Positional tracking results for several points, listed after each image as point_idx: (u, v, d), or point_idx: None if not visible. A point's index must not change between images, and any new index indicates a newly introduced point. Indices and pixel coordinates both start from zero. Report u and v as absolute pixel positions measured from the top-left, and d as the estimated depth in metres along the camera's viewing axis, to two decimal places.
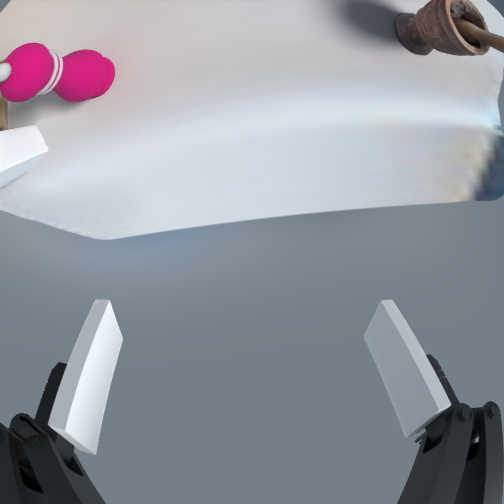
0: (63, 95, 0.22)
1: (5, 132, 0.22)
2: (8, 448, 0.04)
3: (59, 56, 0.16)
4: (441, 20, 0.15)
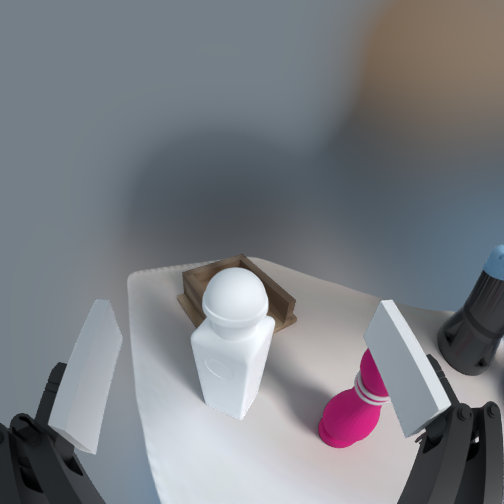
0: (341, 415, 0.26)
1: None
2: (8, 448, 0.04)
3: None
4: None
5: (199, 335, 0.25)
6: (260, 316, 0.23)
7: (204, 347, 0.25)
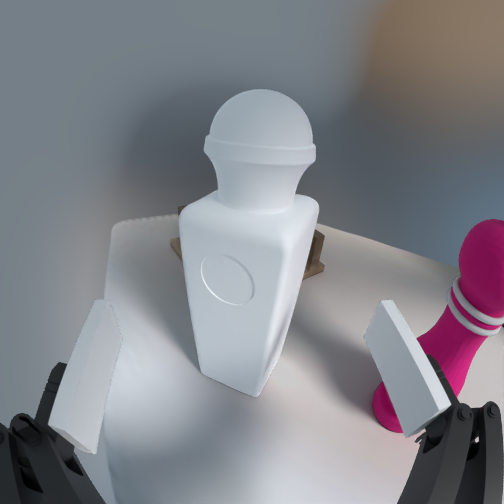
0: None
1: (297, 295, 0.21)
2: (8, 448, 0.04)
3: None
4: None
5: (194, 208, 0.14)
6: (307, 153, 0.12)
7: (202, 229, 0.14)
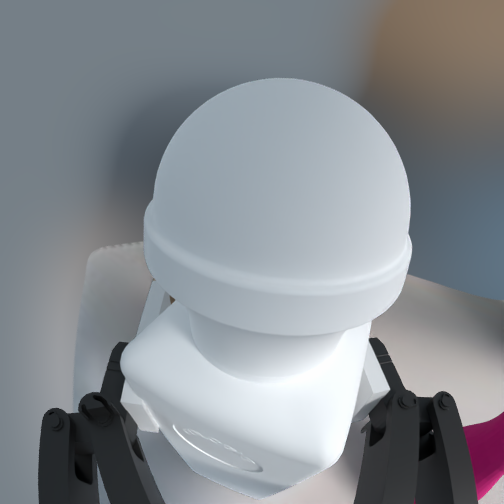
0: None
1: None
2: (67, 437, 0.06)
3: None
4: None
5: (143, 356, 0.06)
6: (406, 271, 0.04)
7: (163, 400, 0.06)
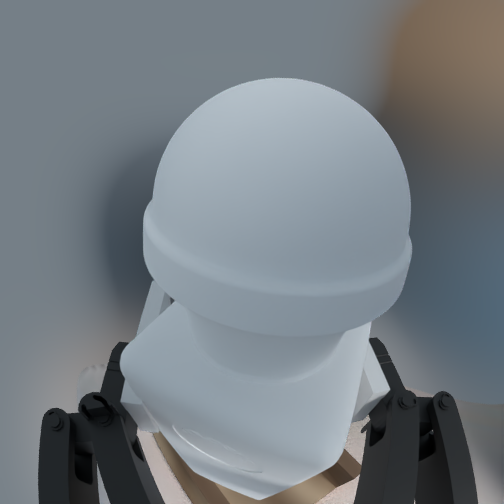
0: None
1: None
2: (67, 437, 0.06)
3: None
4: None
5: (143, 357, 0.06)
6: None
7: (163, 400, 0.06)
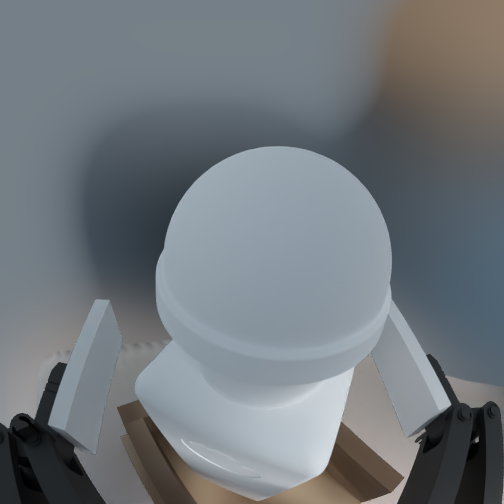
0: None
1: None
2: (8, 448, 0.04)
3: None
4: None
5: (156, 384, 0.07)
6: (383, 326, 0.05)
7: (174, 420, 0.07)
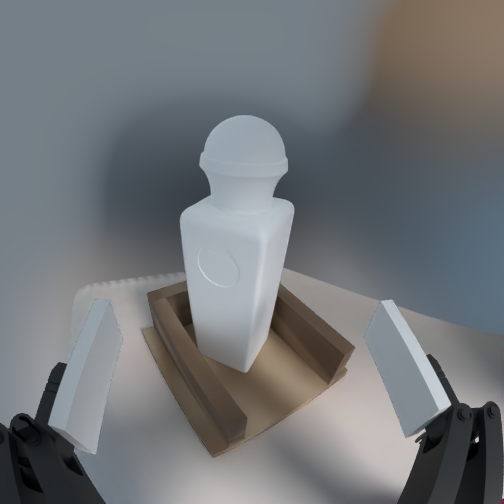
0: None
1: (279, 282, 0.25)
2: (8, 448, 0.04)
3: None
4: None
5: (192, 210, 0.18)
6: (279, 167, 0.16)
7: (199, 227, 0.18)
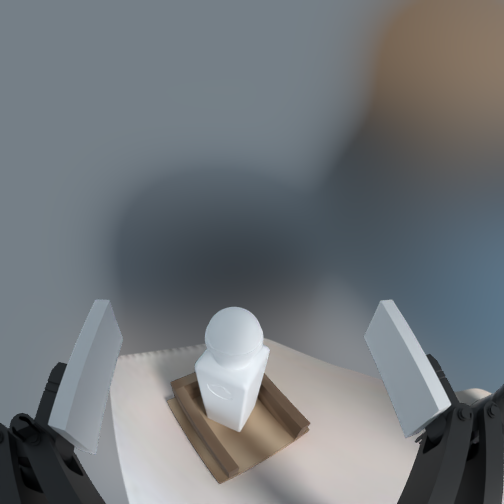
0: None
1: (260, 382, 0.34)
2: (8, 448, 0.04)
3: None
4: None
5: (202, 364, 0.27)
6: (256, 351, 0.25)
7: (207, 374, 0.27)
